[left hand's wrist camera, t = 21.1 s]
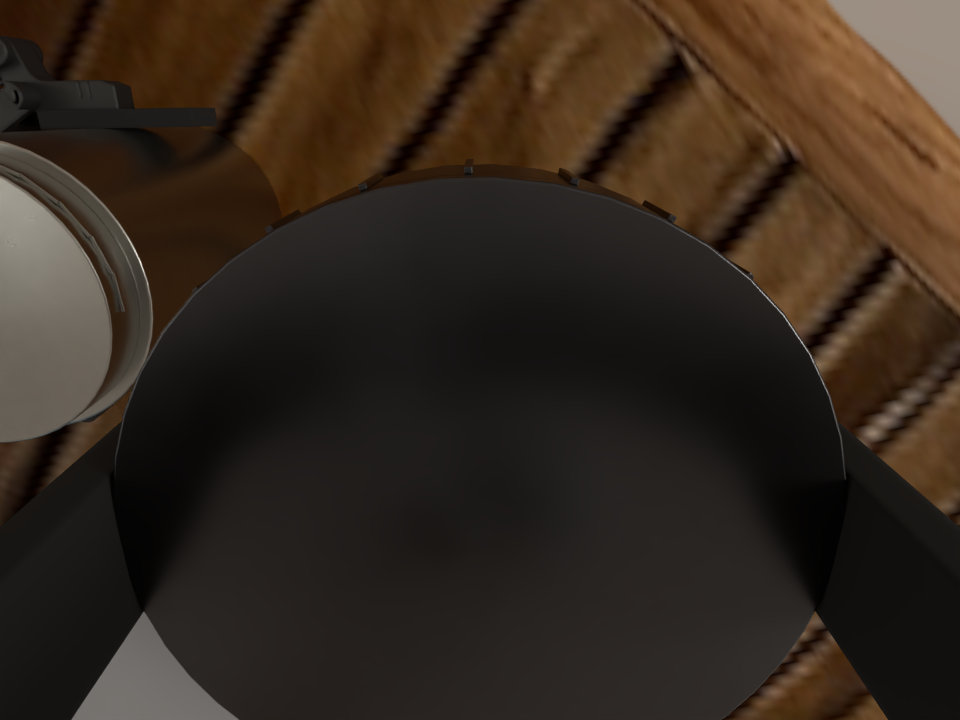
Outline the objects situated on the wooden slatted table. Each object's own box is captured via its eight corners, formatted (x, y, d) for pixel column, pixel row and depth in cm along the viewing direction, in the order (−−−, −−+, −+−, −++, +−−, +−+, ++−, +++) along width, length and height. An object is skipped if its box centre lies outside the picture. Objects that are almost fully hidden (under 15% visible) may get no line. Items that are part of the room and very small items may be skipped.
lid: (206, 698, 14) (163, 792, 12) (120, 145, 10) (34, 153, 8) (729, 712, 14) (768, 807, 12) (856, 172, 10) (947, 188, 8)
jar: (229, 95, 34) (0, 81, 18) (312, 273, 38) (184, 398, 21) (63, 164, 36) (-295, 210, 19) (158, 330, 39) (-76, 491, 22)
